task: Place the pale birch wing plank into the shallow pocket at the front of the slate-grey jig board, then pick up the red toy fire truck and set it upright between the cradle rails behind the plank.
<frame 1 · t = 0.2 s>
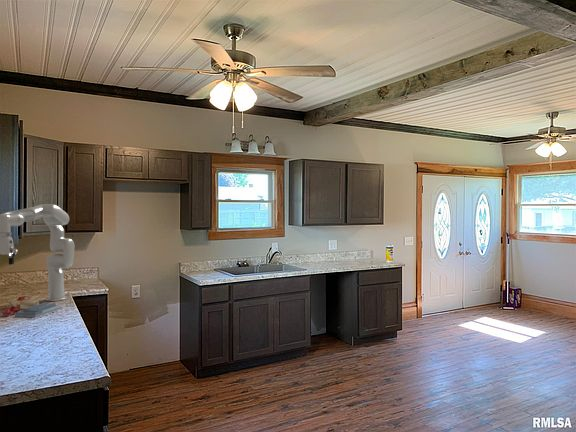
hand: (3, 264, 257), 31 cm above the counter, tool pointing down, fingers open, 9 cm apart
toy fire truck: (13, 314, 261), on the counter
jig board: (39, 311, 266), on the counter
wing plank: (29, 308, 275), on the counter
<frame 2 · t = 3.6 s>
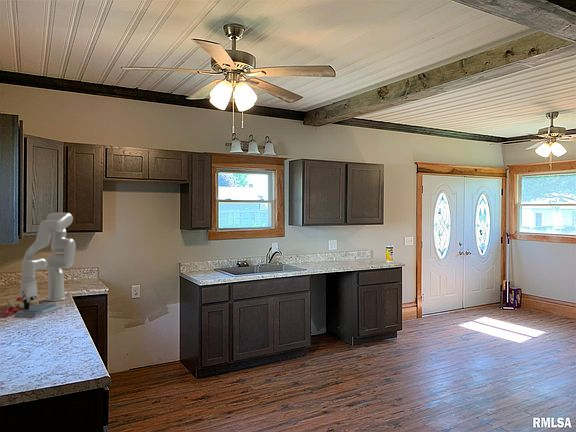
hand: (29, 307, 275), 0 cm above the counter, tool pointing down, fingers closed on wing plank, 4 cm apart
toy fire truck: (12, 314, 260), on the counter
wing plank: (29, 307, 275), point 1 cm above the counter, tilted 6°, touching gripper
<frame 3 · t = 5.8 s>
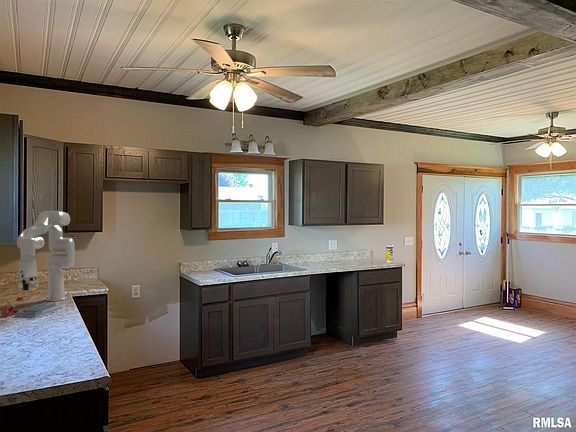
hand: (28, 289, 257), 16 cm above the counter, tool pointing down, fingers closed on wing plank, 4 cm apart
wing plank: (28, 288, 257), point 16 cm above the counter, tilted 6°, touching gripper
everything else where it was.
when the fingers open (3 cm above the counter, at t = 8.5 s): wing plank drops 2 cm, resting on jig board.
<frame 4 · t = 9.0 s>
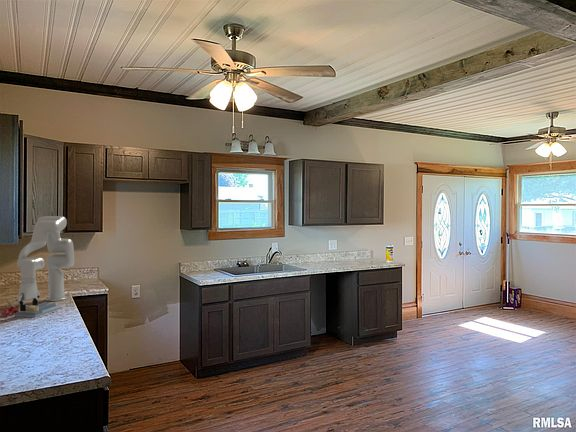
hand: (29, 309, 257), 4 cm above the counter, tool pointing down, fingers open, 9 cm apart
wing plank: (28, 313, 258), point 1 cm above the counter, touching jig board
everything else where it was.
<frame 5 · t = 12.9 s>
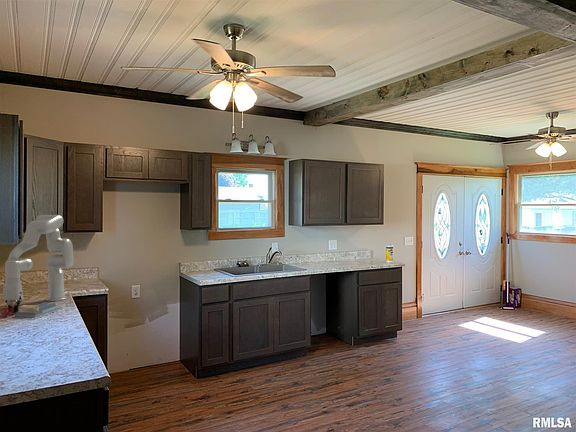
hand: (13, 311, 261), 2 cm above the counter, tool pointing down, fingers closed on toy fire truck, 3 cm apart
toy fire truck: (12, 314, 260), on the counter, touching gripper
everything else where it was.
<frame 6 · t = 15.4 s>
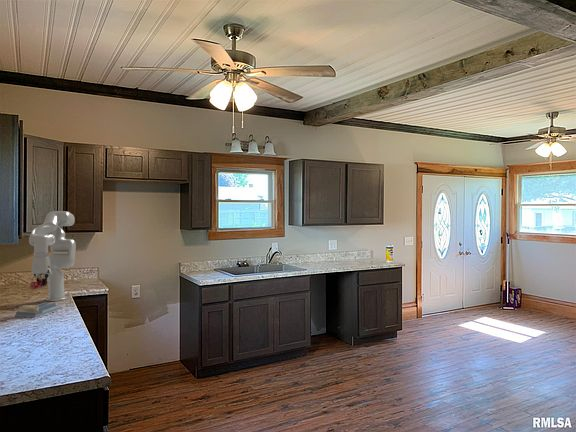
hand: (41, 284, 269), 16 cm above the counter, tool pointing down, fingers closed on toy fire truck, 3 cm apart
toy fire truck: (40, 287, 268), point 14 cm above the counter, touching gripper
everything else where it was.
when the fingers open (4 cm above the counter, at t = 17.8 s): toy fire truck stays where it is, resting on jig board.
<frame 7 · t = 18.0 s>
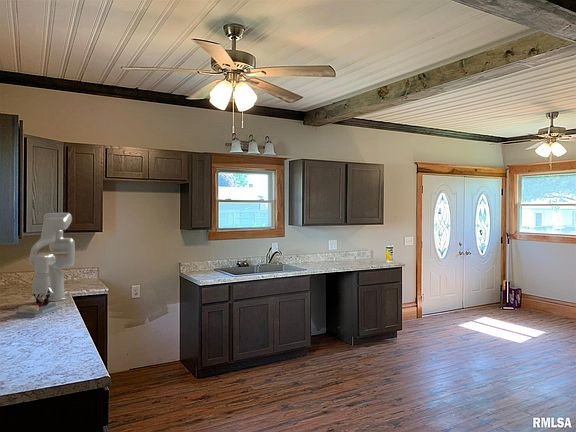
hand: (42, 304, 269), 4 cm above the counter, tool pointing down, fingers open, 4 cm apart
toy fire truck: (41, 309, 269), point 1 cm above the counter, touching jig board
everything else where it was.
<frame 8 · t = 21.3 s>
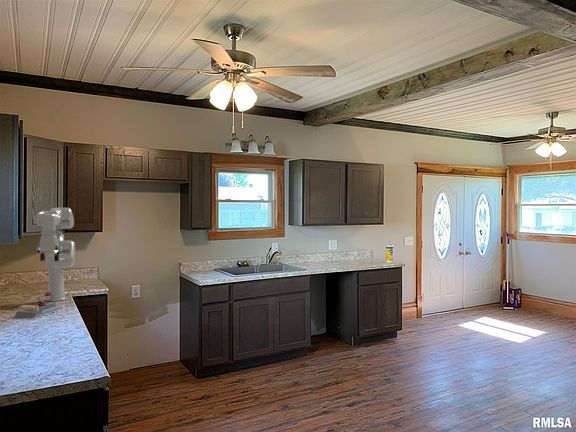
hand: (49, 260, 273), 30 cm above the counter, tool pointing down, fingers open, 9 cm apart
nothing on the counter moved.
at the end: toy fire truck inside the target area (0.9 cm from its centre), point 0.8 cm above the counter; toy fire truck tilted 0°; wing plank 0.5 cm from the target spot, point 1.0 cm above the counter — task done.
